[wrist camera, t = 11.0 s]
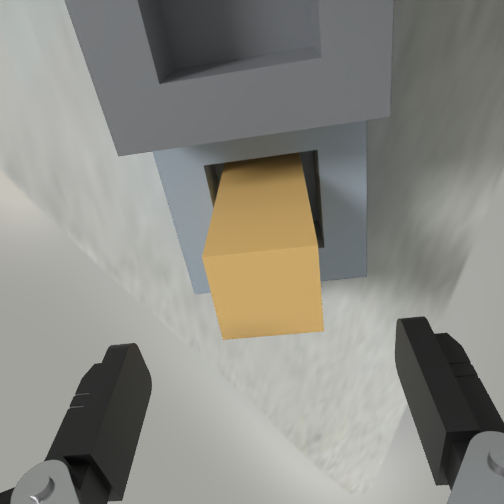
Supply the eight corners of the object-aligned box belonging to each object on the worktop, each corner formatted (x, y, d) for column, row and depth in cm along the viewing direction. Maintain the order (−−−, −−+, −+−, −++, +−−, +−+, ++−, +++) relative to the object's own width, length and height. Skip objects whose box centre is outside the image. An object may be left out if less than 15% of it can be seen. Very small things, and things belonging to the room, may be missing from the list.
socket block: (97, -146, 17) (-17, -236, 10) (344, -203, 16) (404, -347, 9) (203, 256, 27) (183, 343, 21) (353, 239, 26) (383, 325, 20)
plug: (226, 156, 22) (201, 257, 14) (298, 147, 22) (317, 244, 14) (240, 231, 25) (226, 353, 17) (305, 223, 25) (324, 345, 16)
